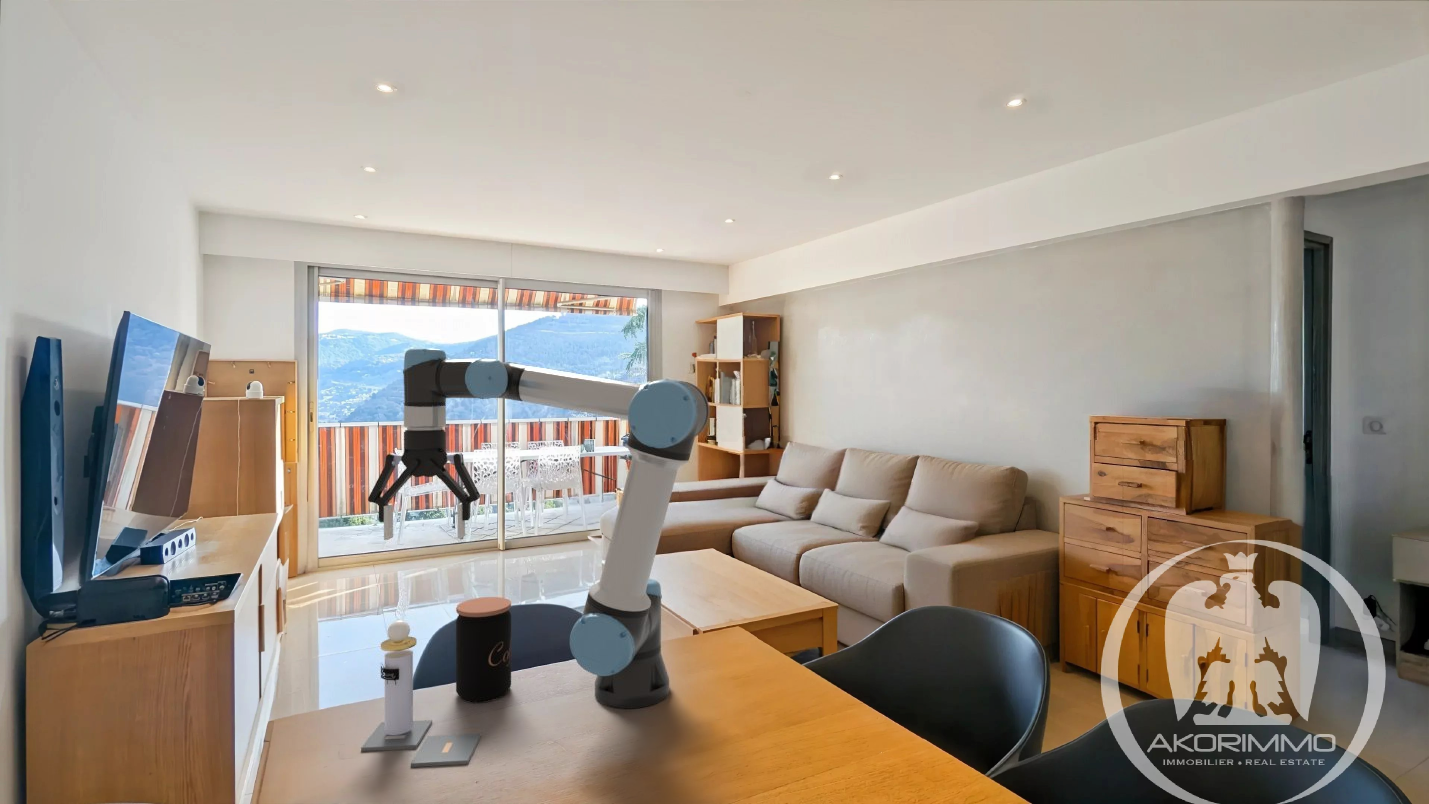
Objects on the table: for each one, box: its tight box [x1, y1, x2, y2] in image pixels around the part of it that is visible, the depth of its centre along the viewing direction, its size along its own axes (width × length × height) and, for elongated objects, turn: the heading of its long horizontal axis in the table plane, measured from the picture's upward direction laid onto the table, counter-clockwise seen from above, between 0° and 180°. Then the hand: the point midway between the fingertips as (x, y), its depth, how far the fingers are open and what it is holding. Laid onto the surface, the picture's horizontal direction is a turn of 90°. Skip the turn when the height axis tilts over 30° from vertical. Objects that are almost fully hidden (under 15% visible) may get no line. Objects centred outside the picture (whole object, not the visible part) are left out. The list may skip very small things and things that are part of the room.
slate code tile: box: [360, 719, 433, 752], centre depth 121 cm, size 9×9×1 cm
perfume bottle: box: [380, 619, 418, 735], centre depth 121 cm, size 6×6×20 cm
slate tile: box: [410, 732, 482, 768], centre depth 116 cm, size 9×9×1 cm
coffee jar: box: [455, 596, 512, 704], centre depth 139 cm, size 11×11×18 cm
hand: (425, 538), depth 132 cm, fingers open, 13 cm apart
